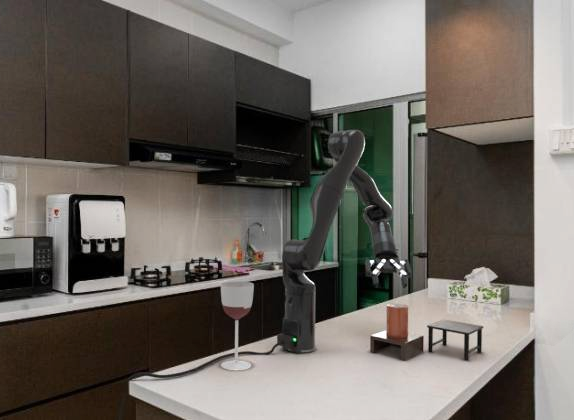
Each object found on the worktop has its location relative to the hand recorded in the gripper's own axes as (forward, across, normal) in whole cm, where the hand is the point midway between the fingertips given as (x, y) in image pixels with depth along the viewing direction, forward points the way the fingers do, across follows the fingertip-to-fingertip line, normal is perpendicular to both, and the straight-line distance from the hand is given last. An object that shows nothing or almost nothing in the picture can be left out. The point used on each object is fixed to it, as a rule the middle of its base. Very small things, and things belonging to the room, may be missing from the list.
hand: (391, 286), depth 151 cm
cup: (+16, 0, +3) cm, 16 cm away
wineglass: (+32, -47, -6) cm, 57 cm away
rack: (+18, +18, +8) cm, 26 cm away
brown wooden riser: (+19, 0, +7) cm, 20 cm away
